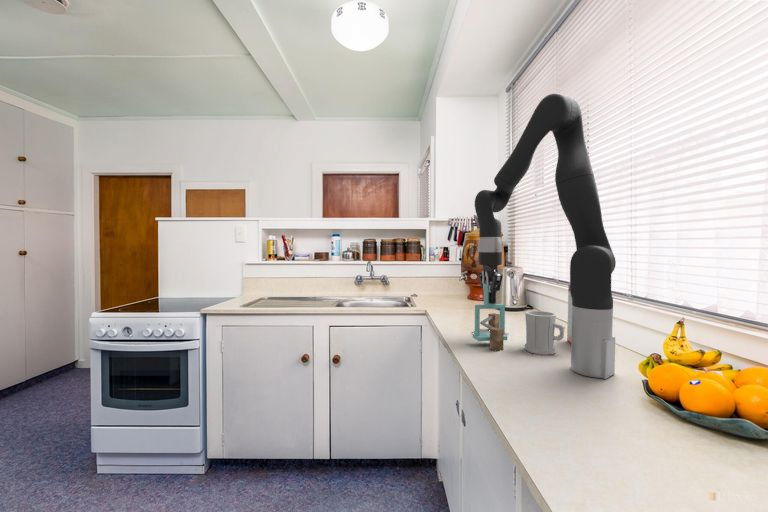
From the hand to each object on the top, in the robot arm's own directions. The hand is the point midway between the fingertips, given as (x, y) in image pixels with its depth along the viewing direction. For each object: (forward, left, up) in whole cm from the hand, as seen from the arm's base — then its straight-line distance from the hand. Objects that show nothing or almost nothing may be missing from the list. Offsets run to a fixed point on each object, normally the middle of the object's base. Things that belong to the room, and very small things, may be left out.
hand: (489, 302), depth 117 cm
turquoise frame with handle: (0, 0, -12) cm, 12 cm away
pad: (+9, -13, -14) cm, 21 cm away
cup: (-15, -7, -15) cm, 22 cm away
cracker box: (-21, -22, -15) cm, 34 cm away
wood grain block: (+3, -8, -14) cm, 16 cm away
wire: (+3, -8, -9) cm, 12 cm away
